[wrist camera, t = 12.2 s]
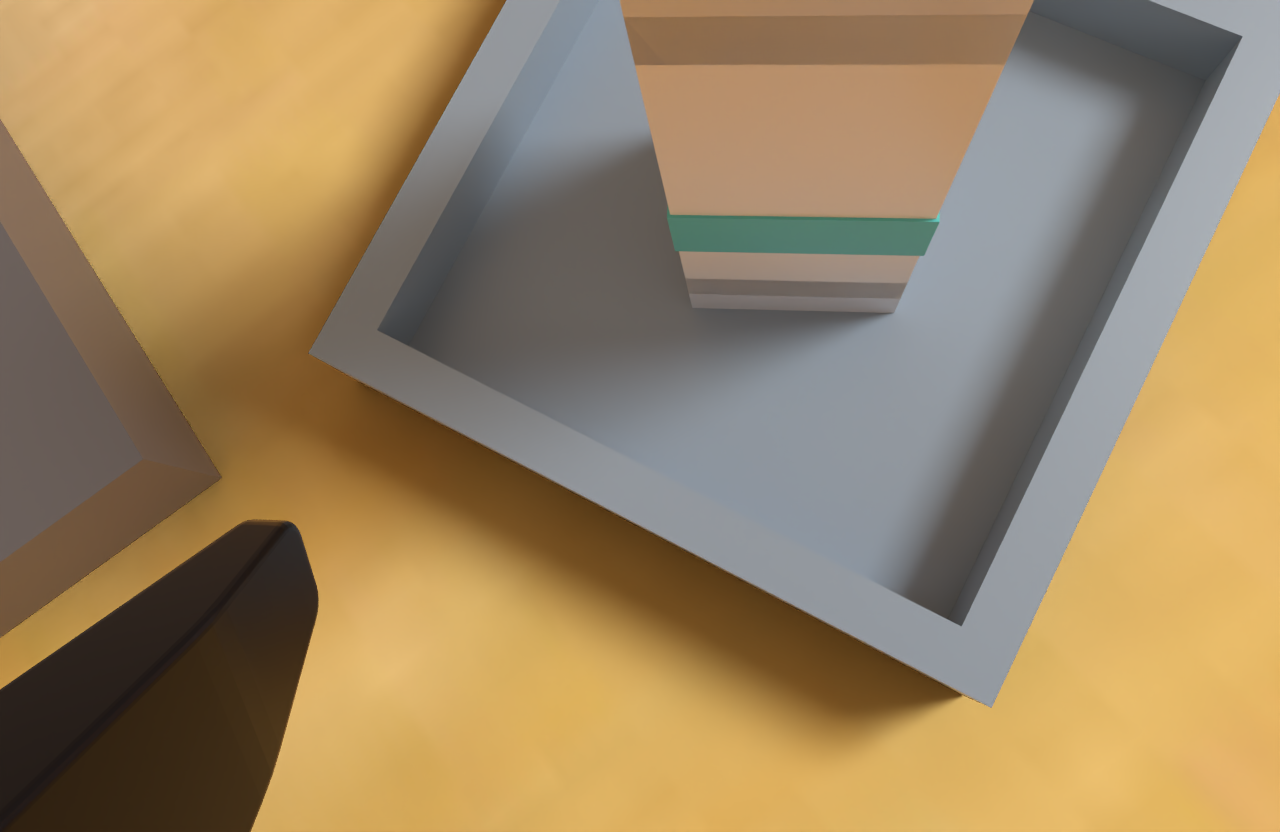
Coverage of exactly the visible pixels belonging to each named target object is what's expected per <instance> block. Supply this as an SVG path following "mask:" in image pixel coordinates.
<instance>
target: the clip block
mask: <svg viewBox="0 0 1280 832" xmlns="http://www.w3.org/2000/svg"><path fill="white" fill-rule="evenodd" d="M221 478H222V477H221V476H220V474H219V473H218V471H217V469H216V468H215V466H214V464H213V463H212V461H211V460H210V458H209V456H208V455H207V453H206V451H205V450H204V448H203V447H202V445H201V443H200V442H199V440H198V439H197V437H196V435H195V434H194V432H193V430H192V429H191V427H190V426H189V424H188V422H187V421H186V419H185V417H184V416H183V414H182V413H181V411H180V409H179V408H178V406H177V405H176V403H175V401H174V400H173V398H172V396H171V395H170V393H169V392H168V390H167V388H166V387H165V385H164V384H163V382H162V380H161V379H160V377H159V375H158V374H157V372H156V371H155V369H154V367H153V366H152V364H151V362H150V361H149V359H148V358H147V356H146V354H145V353H144V351H143V350H142V348H141V346H140V345H139V343H138V341H137V340H136V338H135V337H134V335H133V333H132V332H131V330H130V328H129V327H128V325H127V324H126V322H125V320H124V319H123V317H122V316H121V314H120V312H119V311H118V309H117V307H116V306H115V304H114V303H113V301H112V299H111V298H110V296H109V294H108V293H107V291H106V290H105V288H104V286H103V285H102V283H101V282H100V280H99V278H98V277H97V275H96V273H95V272H94V270H93V269H92V267H91V265H90V264H89V262H88V261H87V259H86V257H85V256H84V254H83V252H82V251H81V249H80V248H79V246H78V244H77V243H76V241H75V239H74V238H73V236H72V235H71V233H70V231H69V230H68V228H67V227H66V225H65V223H64V222H63V220H62V218H61V217H60V215H59V214H58V212H57V210H56V209H55V207H54V205H53V204H52V202H51V201H50V199H49V197H48V196H47V194H46V193H45V191H44V189H43V188H42V186H41V184H40V183H39V181H38V180H37V178H36V176H35V175H34V173H33V172H32V170H31V168H30V167H29V165H28V163H27V162H26V160H25V159H24V157H23V155H22V154H21V152H20V150H19V149H18V147H17V146H16V144H15V142H14V141H13V139H12V138H11V136H10V134H9V133H8V131H7V129H6V128H5V126H4V125H3V123H2V121H1V120H0V637H2V636H3V635H4V634H6V633H7V632H9V631H10V630H11V629H13V628H14V627H15V626H17V625H18V624H20V623H21V622H22V621H24V620H25V619H27V618H28V617H29V616H31V615H32V614H34V613H35V612H36V611H38V610H39V609H40V608H42V607H43V606H45V605H46V604H47V603H49V602H50V601H52V600H53V599H54V598H56V597H57V596H58V595H60V594H61V593H63V592H64V591H65V590H67V589H68V588H70V587H71V586H72V585H74V584H75V583H77V582H78V581H79V580H81V579H82V578H83V577H85V576H86V575H88V574H89V573H90V572H92V571H93V570H95V569H96V568H97V567H99V566H100V565H101V564H103V563H104V562H106V561H107V560H108V559H110V558H111V557H113V556H114V555H115V554H117V553H118V552H120V551H121V550H122V549H124V548H125V547H126V546H128V545H129V544H131V543H132V542H133V541H135V540H136V539H138V538H139V537H140V536H142V535H143V534H144V533H146V532H147V531H149V530H150V529H151V528H153V527H154V526H156V525H157V524H158V523H160V522H161V521H163V520H164V519H165V518H167V517H168V516H169V515H171V514H172V513H174V512H175V511H176V510H178V509H179V508H181V507H182V506H183V505H185V504H186V503H187V502H189V501H190V500H192V499H193V498H194V497H196V496H197V495H199V494H200V493H201V492H203V491H204V490H206V489H207V488H208V487H210V486H211V485H212V484H214V483H215V482H217V481H218V480H219V479H221Z"/></svg>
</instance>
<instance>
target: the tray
mask: <svg viewBox="0 0 1280 832" xmlns="http://www.w3.org/2000/svg"><path fill="white" fill-rule="evenodd" d="M1279 94H1280V0H1034V1H1033V3H1032V6H1031V8H1030V10H1029V12H1028V15H1027V17H1026V19H1025V21H1024V23H1023V26H1022V28H1021V30H1020V32H1019V35H1018V37H1017V39H1016V41H1015V44H1014V46H1013V48H1012V50H1011V53H1010V55H1009V57H1008V59H1007V62H1006V64H1005V66H1004V68H1003V70H1002V73H1001V75H1000V77H999V79H998V82H997V84H996V86H995V88H994V91H993V93H992V95H991V97H990V100H989V102H988V104H987V106H986V108H985V111H984V113H983V115H982V117H981V120H980V122H979V124H978V126H977V129H976V131H975V133H974V135H973V138H972V140H971V142H970V144H969V147H968V149H967V151H966V153H965V155H964V158H963V160H962V162H961V164H960V167H959V169H958V171H957V173H956V176H955V178H954V180H953V182H952V185H951V187H950V189H949V191H948V193H947V196H946V198H945V200H944V202H943V205H942V207H941V209H940V222H939V224H938V227H937V229H936V231H935V233H934V235H933V237H932V240H931V242H930V244H929V246H928V248H927V250H926V253H925V255H924V256H919V258H918V261H917V263H916V265H915V267H914V270H913V272H912V274H911V276H910V279H909V281H908V283H907V285H906V287H905V290H904V292H903V294H902V296H901V299H900V301H899V303H898V305H897V308H896V310H895V312H894V313H874V312H834V311H794V310H755V309H715V308H692V305H691V301H690V296H689V292H688V288H687V284H686V279H685V275H684V271H683V267H682V263H681V258H680V254H679V251H675V249H674V245H673V241H672V237H671V233H670V229H669V225H668V221H667V206H668V203H667V199H666V195H665V191H664V186H663V182H662V178H661V174H660V169H659V165H658V161H657V157H656V153H655V148H654V144H653V140H652V136H651V131H650V127H649V123H648V119H647V115H646V110H645V106H644V102H643V98H642V93H641V89H640V85H639V81H638V76H637V72H636V68H635V64H634V60H633V55H632V51H631V47H630V43H629V38H628V34H627V30H626V26H625V21H624V17H623V13H622V9H621V5H620V0H506V2H505V4H504V6H503V8H502V9H501V11H500V13H499V15H498V16H497V18H496V20H495V22H494V24H493V25H492V27H491V29H490V31H489V33H488V34H487V36H486V38H485V40H484V41H483V43H482V45H481V47H480V49H479V50H478V52H477V54H476V56H475V57H474V59H473V61H472V63H471V65H470V66H469V68H468V70H467V72H466V73H465V75H464V77H463V79H462V81H461V82H460V84H459V86H458V88H457V89H456V91H455V93H454V95H453V97H452V98H451V100H450V102H449V104H448V105H447V107H446V109H445V111H444V113H443V114H442V116H441V118H440V120H439V122H438V123H437V125H436V127H435V129H434V130H433V132H432V134H431V136H430V138H429V139H428V141H427V143H426V145H425V146H424V148H423V150H422V152H421V154H420V155H419V157H418V159H417V161H416V162H415V164H414V166H413V168H412V170H411V171H410V173H409V175H408V177H407V178H406V180H405V182H404V184H403V186H402V187H401V189H400V191H399V193H398V194H397V196H396V198H395V200H394V202H393V203H392V205H391V207H390V209H389V211H388V212H387V214H386V216H385V218H384V219H383V221H382V223H381V225H380V227H379V228H378V230H377V232H376V234H375V235H374V237H373V239H372V241H371V243H370V244H369V246H368V248H367V250H366V251H365V253H364V255H363V257H362V259H361V260H360V262H359V264H358V266H357V267H356V269H355V271H354V273H353V275H352V276H351V278H350V280H349V282H348V283H347V285H346V287H345V289H344V291H343V292H342V294H341V296H340V298H339V300H338V301H337V303H336V305H335V307H334V308H333V310H332V312H331V314H330V316H329V317H328V319H327V321H326V323H325V324H324V326H323V328H322V330H321V332H320V333H319V335H318V337H317V339H316V340H315V342H314V344H313V346H312V348H311V349H310V351H309V353H308V354H310V355H312V356H314V357H316V358H317V359H319V360H321V361H323V362H325V363H326V364H328V365H330V366H332V367H334V368H335V369H337V370H339V371H341V372H343V373H344V374H346V375H348V376H350V377H352V378H353V379H355V380H357V381H359V382H361V383H363V384H365V385H367V386H369V387H370V388H372V389H374V390H376V391H378V392H380V393H382V394H384V395H386V396H388V397H390V398H392V399H394V400H395V401H397V402H399V403H401V404H403V405H405V406H407V407H409V408H411V409H413V410H415V411H417V412H419V413H421V414H422V415H424V416H426V417H428V418H430V419H432V420H434V421H436V422H438V423H440V424H442V425H444V426H446V427H448V428H449V429H451V430H453V431H455V432H457V433H459V434H461V435H463V436H465V437H467V438H469V439H471V440H473V441H474V442H476V443H478V444H480V445H482V446H484V447H486V448H488V449H490V450H492V451H494V452H496V453H498V454H500V455H501V456H503V457H505V458H507V459H509V460H511V461H513V462H515V463H517V464H519V465H521V466H523V467H525V468H526V469H528V470H530V471H532V472H534V473H536V474H538V475H540V476H542V477H544V478H546V479H548V480H550V481H552V482H553V483H555V484H557V485H559V486H561V487H563V488H565V489H567V490H569V491H571V492H573V493H575V494H577V495H578V496H580V497H582V498H584V499H586V500H588V501H590V502H592V503H594V504H596V505H598V506H600V507H602V508H604V509H605V510H607V511H609V512H611V513H613V514H615V515H617V516H619V517H621V518H623V519H625V520H627V521H629V522H631V523H632V524H634V525H636V526H638V527H640V528H642V529H644V530H646V531H648V532H650V533H652V534H654V535H656V536H657V537H659V538H661V539H663V540H665V541H667V542H669V543H671V544H673V545H675V546H677V547H679V548H681V549H683V550H684V551H686V552H688V553H690V554H692V555H694V556H696V557H698V558H700V559H702V560H704V561H706V562H708V563H709V564H711V565H713V566H715V567H717V568H719V569H721V570H723V571H725V572H727V573H729V574H731V575H733V576H735V577H736V578H738V579H740V580H742V581H744V582H746V583H748V584H750V585H752V586H754V587H756V588H758V589H760V590H761V591H763V592H765V593H767V594H769V595H771V596H773V597H775V598H777V599H779V600H781V601H783V602H785V603H787V604H788V605H790V606H792V607H794V608H796V609H798V610H800V611H802V612H804V613H806V614H808V615H810V616H812V617H814V618H815V619H817V620H819V621H821V622H823V623H825V624H827V625H829V626H831V627H833V628H835V629H837V630H839V631H840V632H842V633H844V634H846V635H848V636H850V637H852V638H854V639H856V640H858V641H860V642H862V643H864V644H866V645H867V646H869V647H871V648H873V649H875V650H877V651H879V652H881V653H883V654H885V655H887V656H889V657H891V658H892V659H894V660H896V661H898V662H900V663H902V664H904V665H906V666H908V667H910V668H912V669H914V670H916V671H918V672H919V673H921V674H923V675H925V676H927V677H929V678H931V679H933V680H935V681H937V682H939V683H941V684H943V685H944V686H946V687H948V688H950V689H952V690H954V691H956V692H958V693H960V694H962V695H964V696H966V697H968V698H970V699H973V700H975V701H977V702H979V703H982V704H984V705H986V706H988V707H991V708H992V706H993V704H994V701H995V699H996V697H997V695H998V693H999V691H1000V689H1001V686H1002V684H1003V682H1004V680H1005V678H1006V676H1007V674H1008V672H1009V669H1010V667H1011V665H1012V663H1013V661H1014V659H1015V657H1016V655H1017V652H1018V650H1019V648H1020V646H1021V644H1022V642H1023V640H1024V637H1025V635H1026V633H1027V631H1028V629H1029V627H1030V625H1031V623H1032V620H1033V618H1034V616H1035V614H1036V612H1037V610H1038V608H1039V605H1040V603H1041V601H1042V599H1043V597H1044V595H1045V593H1046V591H1047V588H1048V586H1049V584H1050V582H1051V580H1052V578H1053V576H1054V573H1055V571H1056V569H1057V567H1058V565H1059V563H1060V561H1061V559H1062V556H1063V554H1064V552H1065V550H1066V548H1067V546H1068V544H1069V541H1070V539H1071V537H1072V535H1073V533H1074V531H1075V529H1076V527H1077V524H1078V522H1079V520H1080V518H1081V516H1082V514H1083V512H1084V509H1085V507H1086V505H1087V503H1088V501H1089V499H1090V497H1091V495H1092V492H1093V490H1094V488H1095V486H1096V484H1097V482H1098V480H1099V477H1100V475H1101V473H1102V471H1103V469H1104V467H1105V465H1106V463H1107V460H1108V458H1109V456H1110V454H1111V452H1112V450H1113V448H1114V446H1115V443H1116V441H1117V439H1118V437H1119V435H1120V433H1121V431H1122V428H1123V426H1124V424H1125V422H1126V420H1127V418H1128V416H1129V414H1130V411H1131V409H1132V407H1133V405H1134V403H1135V401H1136V399H1137V396H1138V394H1139V392H1140V390H1141V388H1142V386H1143V384H1144V382H1145V379H1146V377H1147V375H1148V373H1149V371H1150V369H1151V367H1152V364H1153V362H1154V360H1155V358H1156V356H1157V354H1158V352H1159V350H1160V347H1161V345H1162V343H1163V341H1164V339H1165V337H1166V335H1167V332H1168V330H1169V328H1170V326H1171V324H1172V322H1173V320H1174V318H1175V315H1176V313H1177V311H1178V309H1179V307H1180V305H1181V303H1182V300H1183V298H1184V296H1185V294H1186V292H1187V290H1188V288H1189V286H1190V283H1191V281H1192V279H1193V277H1194V275H1195V273H1196V271H1197V269H1198V266H1199V264H1200V262H1201V260H1202V258H1203V256H1204V254H1205V251H1206V249H1207V247H1208V245H1209V243H1210V241H1211V239H1212V237H1213V234H1214V232H1215V230H1216V228H1217V226H1218V224H1219V222H1220V219H1221V217H1222V215H1223V213H1224V211H1225V209H1226V207H1227V205H1228V202H1229V200H1230V198H1231V196H1232V194H1233V192H1234V190H1235V187H1236V185H1237V183H1238V181H1239V179H1240V177H1241V175H1242V173H1243V170H1244V168H1245V166H1246V164H1247V162H1248V160H1249V158H1250V155H1251V153H1252V151H1253V149H1254V147H1255V145H1256V143H1257V141H1258V138H1259V136H1260V134H1261V132H1262V130H1263V128H1264V126H1265V123H1266V121H1267V119H1268V117H1269V115H1270V113H1271V111H1272V109H1273V106H1274V104H1275V102H1276V100H1277V98H1278V96H1279Z"/></svg>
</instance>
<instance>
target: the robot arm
mask: <svg viewBox="0 0 1280 832" xmlns="http://www.w3.org/2000/svg"><path fill="white" fill-rule="evenodd" d="M317 612H318V590H317V586H316V582H315V579H314V576H313V573H312V569H311V566H310V563H309V560H308V556H307V553H306V550H305V547H304V543H303V540H302V537H301V534H300V532H299V530H298V528H297V527H296V526H295V525H294V524H293V523H291V522H288V521H281V520H255V519H254V520H247V521H244V522H242V523H241V524H239V525H237V526H236V527H234V528H233V529H231V530H230V531H229V532H227V533H226V534H224V535H223V536H221V537H220V538H218V539H217V540H216V541H214V542H213V543H211V544H210V545H208V546H207V547H205V548H204V549H203V550H201V551H200V552H198V553H197V554H195V555H194V556H192V557H191V558H190V559H188V560H187V561H185V562H184V563H182V564H181V565H179V566H178V567H177V568H175V569H174V570H172V571H171V572H169V573H168V574H166V575H165V576H164V577H162V578H161V579H159V580H158V581H156V582H155V583H153V584H152V585H151V586H149V587H148V588H146V589H145V590H143V591H142V592H140V593H139V594H138V595H136V596H135V597H133V598H132V599H130V600H129V601H127V602H126V603H125V604H123V605H122V606H120V607H119V608H117V609H116V610H114V611H113V612H112V613H110V614H109V615H107V616H106V617H104V618H103V619H101V620H100V621H99V622H97V623H96V624H94V625H93V626H91V627H90V628H88V629H87V630H86V631H84V632H83V633H81V634H80V635H78V636H77V637H75V638H74V639H73V640H71V641H70V642H68V643H67V644H65V645H64V646H62V647H61V648H60V649H58V650H57V651H55V652H54V653H52V654H51V655H49V656H48V657H47V658H45V659H44V660H42V661H41V662H39V663H38V664H36V665H35V666H34V667H32V668H31V669H29V670H28V671H26V672H25V673H24V674H22V675H21V676H19V677H18V678H16V679H15V680H13V681H12V682H11V683H9V684H8V685H6V686H5V687H3V688H2V689H0V832H251V829H252V827H253V824H254V822H255V819H256V817H257V814H258V812H259V809H260V807H261V804H262V802H263V799H264V796H265V794H266V791H267V788H268V785H269V783H270V780H271V777H272V775H273V771H274V768H275V765H276V762H277V758H278V755H279V752H280V749H281V745H282V741H283V738H284V734H285V730H286V727H287V723H288V719H289V716H290V712H291V709H292V705H293V701H294V698H295V694H296V690H297V687H298V683H299V679H300V676H301V672H302V669H303V665H304V661H305V658H306V654H307V650H308V647H309V643H310V639H311V636H312V632H313V629H314V625H315V621H316V617H317Z"/></svg>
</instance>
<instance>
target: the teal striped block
mask: <svg viewBox="0 0 1280 832" xmlns="http://www.w3.org/2000/svg"><path fill="white" fill-rule="evenodd" d="M1033 1H1034V0H620V5H621V9H622V13H623V17H624V21H625V26H626V30H627V34H628V38H629V43H630V47H631V51H632V55H633V60H634V64H635V68H636V72H637V76H638V81H639V85H640V89H641V93H642V98H643V102H644V106H645V110H646V115H647V119H648V123H649V127H650V131H651V136H652V140H653V144H654V148H655V153H656V157H657V161H658V165H659V169H660V174H661V178H662V182H663V186H664V191H665V195H666V199H667V203H668V206H667V221H668V225H669V229H670V233H671V237H672V241H673V245H674V249H675V251H679V254H680V258H681V263H682V267H683V271H684V275H685V279H686V284H687V288H688V292H689V296H690V301H691V305H692V308H715V309H755V310H794V311H834V312H874V313H894V312H895V310H896V308H897V305H898V303H899V301H900V299H901V296H902V294H903V292H904V290H905V287H906V285H907V283H908V281H909V279H910V276H911V274H912V272H913V270H914V267H915V265H916V263H917V261H918V258H919V256H924V255H925V253H926V250H927V248H928V246H929V244H930V242H931V240H932V237H933V235H934V233H935V231H936V229H937V227H938V224H939V222H940V209H941V207H942V205H943V202H944V200H945V198H946V196H947V193H948V191H949V189H950V187H951V185H952V182H953V180H954V178H955V176H956V173H957V171H958V169H959V167H960V164H961V162H962V160H963V158H964V155H965V153H966V151H967V149H968V147H969V144H970V142H971V140H972V138H973V135H974V133H975V131H976V129H977V126H978V124H979V122H980V120H981V117H982V115H983V113H984V111H985V108H986V106H987V104H988V102H989V100H990V97H991V95H992V93H993V91H994V88H995V86H996V84H997V82H998V79H999V77H1000V75H1001V73H1002V70H1003V68H1004V66H1005V64H1006V62H1007V59H1008V57H1009V55H1010V53H1011V50H1012V48H1013V46H1014V44H1015V41H1016V39H1017V37H1018V35H1019V32H1020V30H1021V28H1022V26H1023V23H1024V21H1025V19H1026V17H1027V15H1028V12H1029V10H1030V8H1031V6H1032V3H1033Z"/></svg>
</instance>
